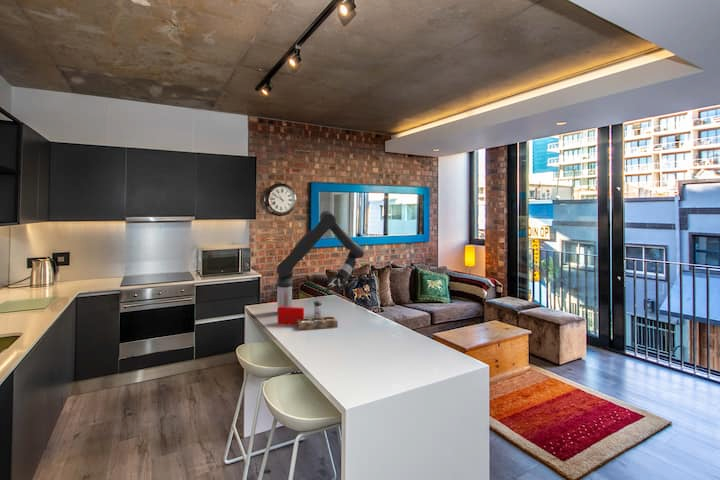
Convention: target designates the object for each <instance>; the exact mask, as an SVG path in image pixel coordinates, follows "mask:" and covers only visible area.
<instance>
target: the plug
mask: <svg viewBox="0 0 720 480" xmlns="http://www.w3.org/2000/svg"><path fill="white" fill-rule="evenodd" d="M313 306H314V307H313V308H314V309H313V313H314V314H313V318H318V317H322V315H321V314H322V301H320V300H315V301H313Z"/></svg>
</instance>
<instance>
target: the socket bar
mask: <svg viewBox="0 0 720 480" xmlns="http://www.w3.org/2000/svg"><path fill="white" fill-rule="evenodd" d="M338 322H339V321H338V319H336V318H335V317H334V316H332V315H331V316H321V317H318V318H314V317H308V318H307V317H306V318H305V317H304V319H303V321H301V319H297V325H296V327H297V328H298V330H299V331H303V330H304V331H305V330H319V329H330V328H338Z"/></svg>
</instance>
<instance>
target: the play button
mask: <svg viewBox="0 0 720 480" xmlns="http://www.w3.org/2000/svg"><path fill="white" fill-rule="evenodd" d="M304 318H305V307H298V306H297V307H296V306H292V307H279V308H278V313H277V324H278V325H288V324H290V325H292V326H297V319H301V321H303V319H304Z"/></svg>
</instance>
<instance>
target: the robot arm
mask: <svg viewBox="0 0 720 480" xmlns="http://www.w3.org/2000/svg"><path fill="white" fill-rule="evenodd" d="M336 219H337V217H336V215H335V214H334V213H333V212H331V211H329V210H324V211H322V212H321V213H320V215H319V221H318V223H317V224H316V226H314V228H313V229H311V230H310V231H308V232H307V233H306V234H304V235H303V236H302V237H301V238H300V240H299V241H298V242H297V243H296V245H295V246H294V247H293V249H292V250H291V251H290V253H289V254H288V255H287V256H286V258H285V259H283V260H282V261H281V262H280V263H278V264H277V267H276V273H277V275H278V276H277V277H278V278H277V287H276V288H277V289H276V291H277V292H276V293H277V298H276V299H277V300H276V304H277V305H276V309H277V310H276V313H277V314H278V308H279V307H293V278H294V277H293V276H294V275H293V274H294V268H295V266H296V265H298V263H299V262H301V260H302V259H304V257H306V256H307V255H308V254H309V253H310V252H311V250H312V249H313V248H314V247H315V246H316V245H317V243H319V241H320V240H321V238H322V237H323V236H324V235H325V234H326V233H327V232H328V231H329V230H330V231H331V232H332V233H333V234H334V236H335V237H336V239H338V240H339V243H341V245H342V246H343V247H344V248H345V249H346V250H349V251H348V255H347V257H346V260H345V261H344V263H343V264H342V265H341V266H340V267H339V270H338V271H337V272H336V274H335V277H333V276H331V277H330V278H329V280H328V282H326V284H327V287H326V288H325V291H326V292H327V293H329V292H330V290H331V289H332V287H335V286H338V287H337V289H336V290H335V292H334V293H335V294H336V295H339V294H340V292H341V291H342V290H345V289H346V287H347V285H348V284H349V281H348V278H349V277H350V275H351V273H352V271H353V270H354V268H355V266H356V264H357V262H356V259H362V258H363V257H364V256H365V251H364V249H363V247H361V245H359V244H358V243H356V242H355V241H354V240H353V238H351V236H350V235H349V234H348V233H347V232H346V231H345V230H344V229H343V228H342V227H341V225H340V224H339V223H338V222H337V220H336Z"/></svg>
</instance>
